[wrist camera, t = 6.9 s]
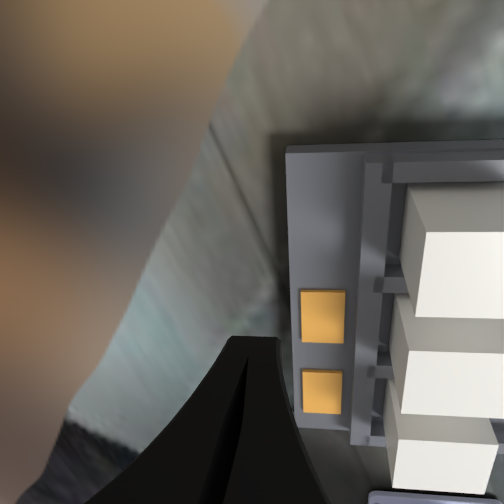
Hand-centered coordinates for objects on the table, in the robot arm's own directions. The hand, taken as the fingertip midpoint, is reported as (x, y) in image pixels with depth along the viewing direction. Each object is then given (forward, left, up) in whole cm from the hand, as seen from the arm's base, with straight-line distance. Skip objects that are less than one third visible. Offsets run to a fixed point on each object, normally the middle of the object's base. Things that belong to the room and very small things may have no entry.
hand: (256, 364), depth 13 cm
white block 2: (-5, -7, -8) cm, 12 cm away
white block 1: (0, -7, -8) cm, 11 cm away
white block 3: (-10, -7, -8) cm, 15 cm away
